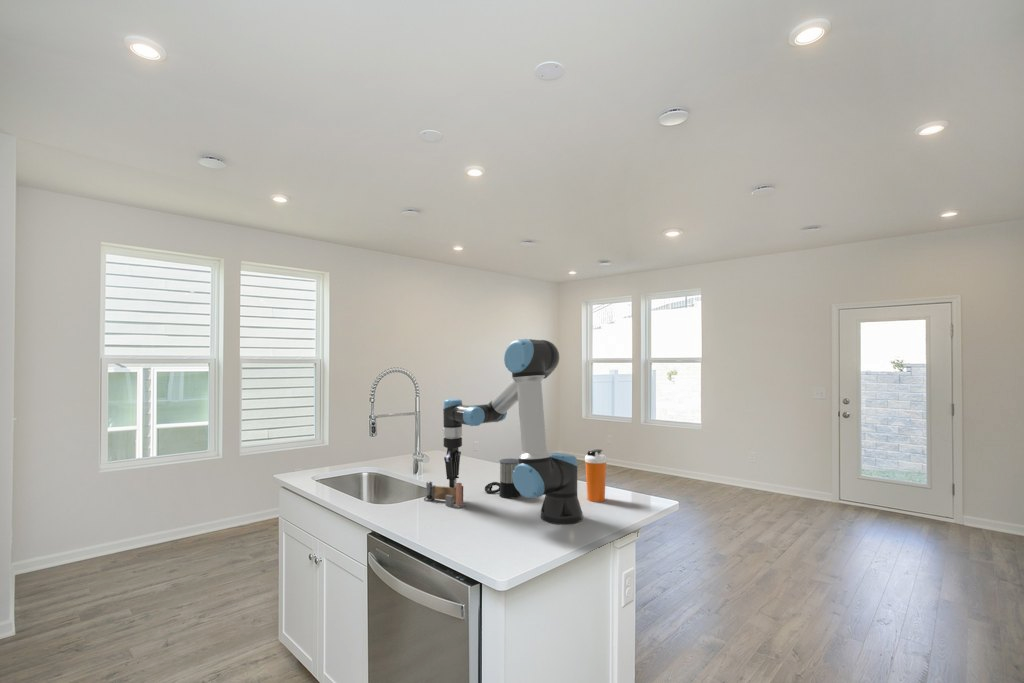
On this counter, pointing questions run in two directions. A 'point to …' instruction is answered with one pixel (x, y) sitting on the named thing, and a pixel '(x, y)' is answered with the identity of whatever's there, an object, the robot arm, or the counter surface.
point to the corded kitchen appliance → (505, 480)
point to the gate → (444, 492)
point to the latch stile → (458, 497)
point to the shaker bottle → (595, 475)
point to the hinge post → (428, 492)
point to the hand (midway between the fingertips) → (452, 494)
